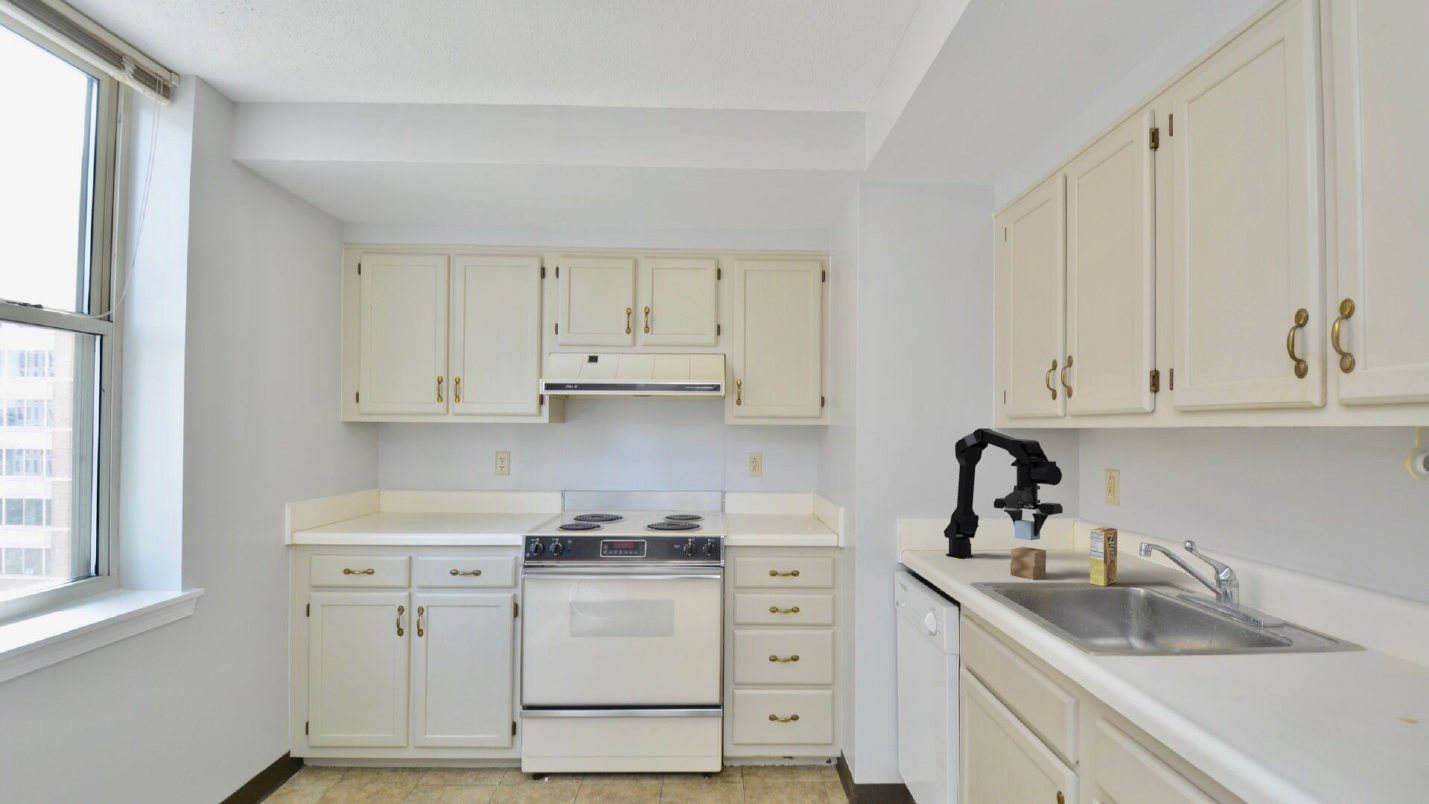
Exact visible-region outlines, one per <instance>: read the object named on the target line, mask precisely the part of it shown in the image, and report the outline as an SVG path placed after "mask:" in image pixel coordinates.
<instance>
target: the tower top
mask: <svg viewBox="0 0 1429 804" xmlns="http://www.w3.org/2000/svg"><path fill="white" fill-rule="evenodd" d="M1010 553H1011V555H1010V557H1011V558H1010V563H1014V564H1020V565H1026V566H1031V567H1037V566H1040V565H1044V564H1046V565H1047V550H1046V549H1041V548H1040V549H1039V548H1034V547H1028V546H1027V547H1026V546H1021V547H1020V546H1019V547H1016V548H1012V549H1011V552H1010Z"/></svg>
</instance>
